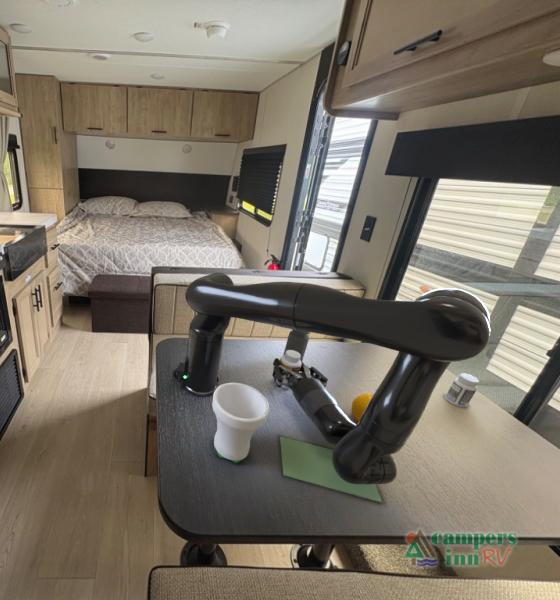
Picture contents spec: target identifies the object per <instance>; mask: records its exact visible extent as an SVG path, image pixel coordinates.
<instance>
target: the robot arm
mask: <svg viewBox="0 0 560 600" xmlns="http://www.w3.org/2000/svg"><path fill="white" fill-rule="evenodd" d="M184 293H185V294H184V295H185V296H184V297H185V298H184V299H185V301H186V304H187V305H188V306H189V308H190V309H191V310H193V312H195V313H197V314H196V315H194V317H193V318H192V319H191V321H190V323H189V330H188V337H187V338H188V339H187V348H186V356H185V358H184V362H181V361H180V362H179V364H178V366H177V367H176V368H175V369H173V370H172V373H171V374H172V377H173V379H174V380H175V381H176V380H178V379H179V378H180V379H182V381H181V382H182V383H181V388H182V389H185V390H186V391H187V392H188V393H190V394H192V395H195V396H199V397H206V396H210V395H213V394H214V392H215V390H216V388H217V387H218V386H217V385H218V383H219V382H220V381H219V380H220V378H219V370H220V364H221V359H222V353H223V347H224V346H223V345H224V340H225V336H226V331H227V329H228V328H229V326H230V323H231V319H232V318H234V319H239V320H245V321H249V322H253V323H259V324H265V325H271V326H274V327H278V328H282V329H284V328H285V329H289V330H292V329H294V330H299V331H304V332H310V333H312V334H317V335H318V334H319V335H323V336H329V337H334V338H340V339H347V340H352V341H357V342H362V343H366V344H370V345H373V346H374V345H375V346H378V347H380V348H385V349H387V350H388V349H389V350H393V351H395V352H397V355H396V357H395V359H394V361H393V362H392V364H391V366H390V367H389V369H388V371H387V372H386V374H385V376H384V377H383V379H382V381H381V382H380V384H379V385H378V387H377V389H376V390H375V392H374V393H373V396H372V398H371V400H370V402H369V403H368V405H367V407H366V409H365V411H364V413H363V415H362V417H361V419H360V421H358V422H357V423H355V422H354V421H352V419H351V418H350V417H349V415H347V413H346V412H345V411H344V410H343V409H342V407H341V405H340V404H339V402H338V401H337V399H336V398H335V397H334V396H333V395H332V393H330V391H329V390H328V388H326V387H327V384H328V381H329V379H328V377H327V376H325V375H324V374H323V373H322V372H321V371H319V370H318V369H317V368H316V367H315V366H310V367H309V366H308V365H306V364H305V363H304V362H303V360H302V361H301V362H302V365H301V368H300V371H299V373H295V372H293V371H292V370H291V369H287V368H285V367H284V366H283V364H282V363H281V362H280V360H281V359H280V358H279V357H274V360H273V363H272V365H273V370H272V373H271V375H272V378H273V381H274V383H275V386H276V388H278V389H280V388H282V386H281V385H283V386H287V387H288V388H287V389H289V390H290V391H292V394H293V397H294V399H295V400H296V402H297V403H298V404H299V406H300V407H301V409H302V410H303V412H304V413H305V415H306V416H307V417H308V419H309V420H310V421H311V422H312V424H313V425H314V426H315V427H316V429H317V431H318V432H319V433H320V435H321V436H322V438H323V439H324V441H326V442H327V443H328V444H330V445H332V446H334V447H333V449H332V450H333V453H332V463H333V467H334V469H335V471H336V473H337V474H338V476H339V477H340V478H341V479H343V480H344V481H346V482H348V483H350V484H356V485H363V484H375V485H388V484H391V483H393V482H394V481H395V480H396V478H397V474H398V469H397V464H396V461H395V459H394V458H393V455H394V454H397V453H398V452H400V451H401V450H402V449H403V448H404V447H405V445H406V443H407V442H408V440H409V438H410V437H411V435H412V434H413V432H414V431H415V429H416V427H417V425H418V424H419V422H420V420H421V418H422V416H423V414H424V412H425V410H426V407H427V406H428V403H429V401H430V399H431V397H432V395H433V393H434V390H435V388H436V386H437V384H438V383H439V381H440V379H441V378H442V376H443V374H444V373H445V371H446V370H447V368H448V367H449V366H450V364H452V363H456V362H462V361H467V360H470V359H473V358H475V357H477V356H478V355H480V354H481V353H482V352H483V351H484V350H485V349H486V348H487V346H488V344H489V342H490V338H491V318H490V313H489V311H488V309H487V307H486V305H485V304H484V303H483V301H482V300H480V298H478V297H477V296H476V295H474V294H472V293H470V292H468V291H466V290H463V289H459V288H451V287H450V288H447V287H445V288H437V289H433V290H429V291H428V292H425V293H423V294H422V295H420V296H418V297H416V299H415V300H391V299H376V298H375V299H374V298H368V297H367V298H366V297H361V296H357V295H354V294H350V293H348V292H344V291H341V290H339V289H336V288H333V287H330V286H326V285H322V284H317V283H310V282H295V281H269V282H261V283H259V282H258V283H252V284H242V285H241V284H239V285H237V284H234V282H233V280H232V277H230V276H229V275H228V274H226V273H223V272H213V273H211V274H207V275H203V276H201V277H198V278H195V279H194V280H193V281H191V282H190V283H189V285H188V286H187V287H186V289H185V292H184ZM283 371H284V373H283ZM289 374H290V376H289Z"/></svg>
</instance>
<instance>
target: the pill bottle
mask: <svg viewBox="0 0 560 600" xmlns="http://www.w3.org/2000/svg"><path fill="white" fill-rule="evenodd" d="M479 383H480V379H478V378H477V377H476V376H474V375H472V374H470V373H464V372H461V373H459V375H458V376H457V378H455V379H454V380H453V381H452V383H451V385H450V387H449V389H448V391H447V392H446V394H445V399H446V400H447V401H448V402H449V403H451V404H453V405H455V406H457V407H462V408H464V407H468V405H469V404H470V401H472V398H473V397H474V395H475V394H476V392H477V390H478V387H477V386H479Z"/></svg>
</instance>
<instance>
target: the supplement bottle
mask: <svg viewBox="0 0 560 600" xmlns="http://www.w3.org/2000/svg"><path fill="white" fill-rule="evenodd" d="M300 357H301V355H300V353H298V352H296V351H294V350H287V351H286V353H285V355H282V356H281V357H280V359H279V360H280V362H281V363H282V364H283V366H284V367H285V368H287V369H291V370H292V371H293V372H295V373H300V368H301V365H302V362H303V361H302V362H301V360H300ZM283 373H284V371H283ZM289 376H290V374H289ZM281 388H285V389H289V388H288V387H287V386H283V385H281Z"/></svg>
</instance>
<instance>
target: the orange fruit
mask: <svg viewBox="0 0 560 600" xmlns="http://www.w3.org/2000/svg"><path fill="white" fill-rule="evenodd" d="M373 395H374V393H373V394H372V393H361V394H359V395H356V397H355V398H354V399H353V400H352V403H351V412H352V415H353V417H354V418H355V419H356V420H357V421H358V422H359V421H360V419H361V417H362V415H363V413H364V411H365V409H366V407H367V405H368V403H369V402H370V400H371V398H372V396H373Z"/></svg>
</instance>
